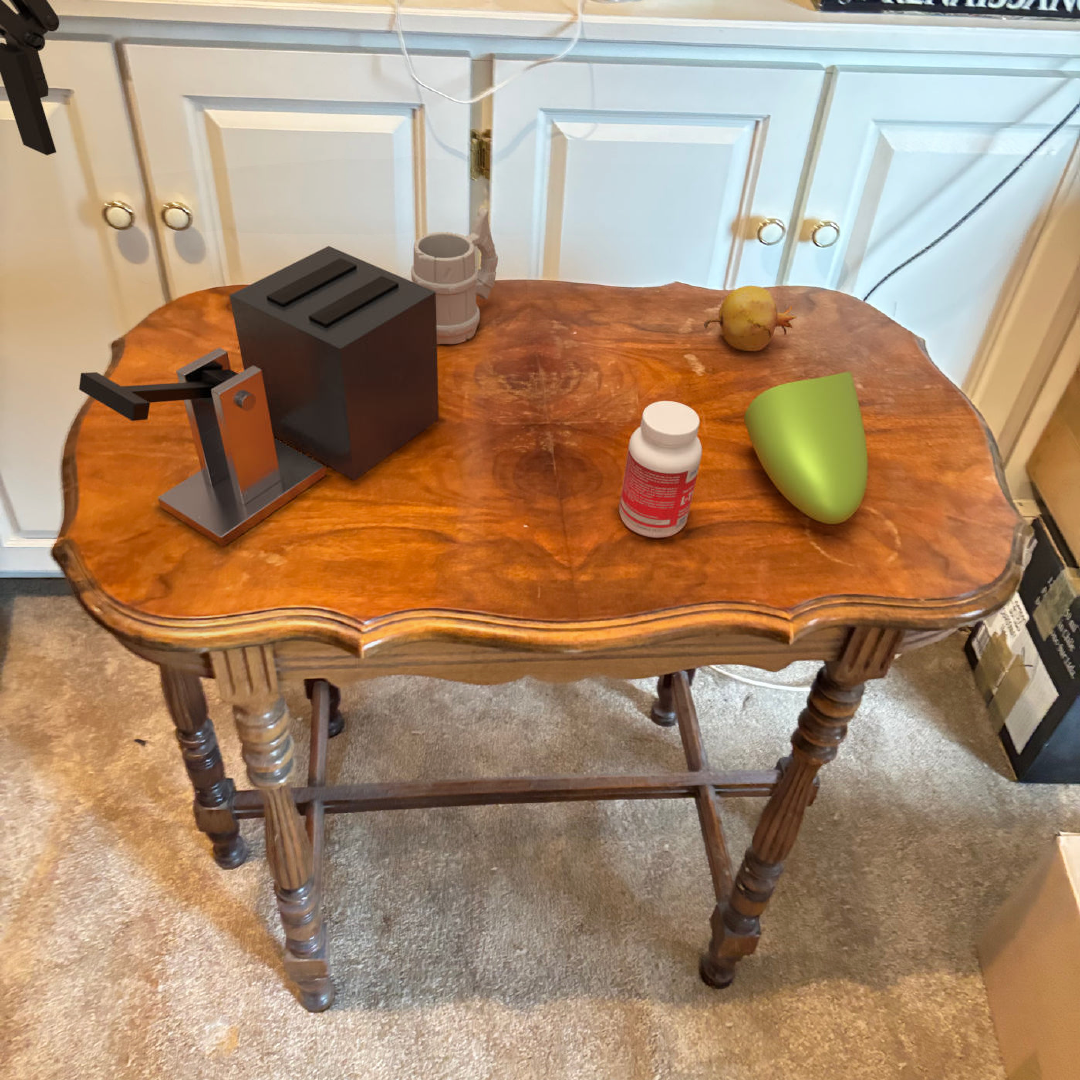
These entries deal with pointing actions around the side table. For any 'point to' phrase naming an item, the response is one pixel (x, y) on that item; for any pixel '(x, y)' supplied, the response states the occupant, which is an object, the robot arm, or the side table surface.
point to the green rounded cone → (813, 444)
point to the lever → (149, 392)
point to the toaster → (342, 357)
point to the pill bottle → (661, 470)
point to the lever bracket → (235, 457)
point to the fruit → (750, 318)
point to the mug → (456, 277)
